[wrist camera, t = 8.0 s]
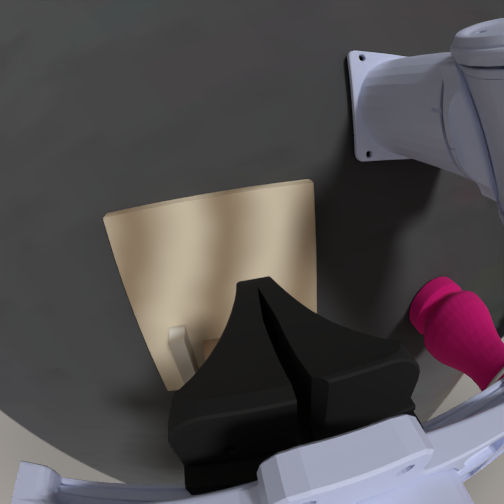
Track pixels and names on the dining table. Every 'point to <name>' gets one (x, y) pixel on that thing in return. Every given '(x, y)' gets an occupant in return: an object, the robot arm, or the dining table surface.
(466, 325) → the pepper mill
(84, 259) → the dining table surface
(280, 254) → the board
